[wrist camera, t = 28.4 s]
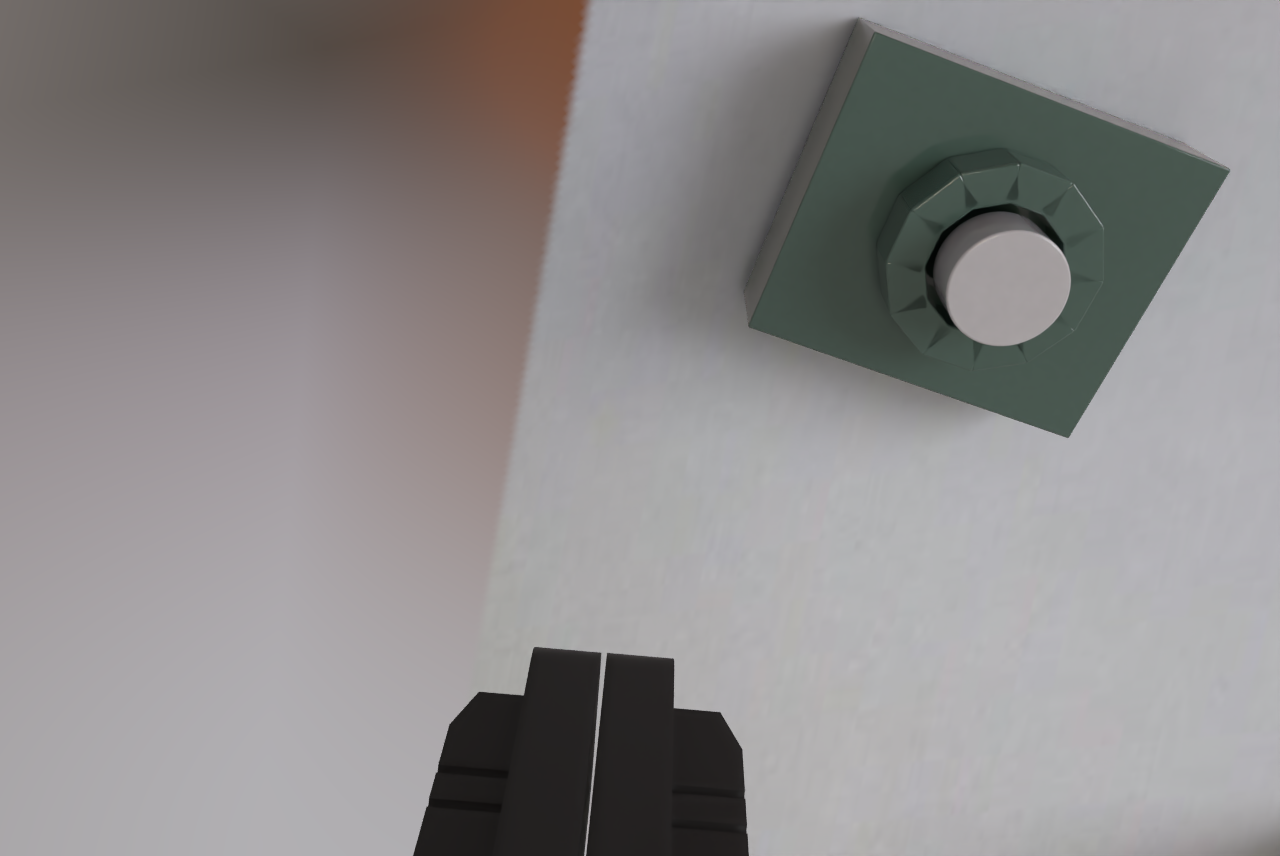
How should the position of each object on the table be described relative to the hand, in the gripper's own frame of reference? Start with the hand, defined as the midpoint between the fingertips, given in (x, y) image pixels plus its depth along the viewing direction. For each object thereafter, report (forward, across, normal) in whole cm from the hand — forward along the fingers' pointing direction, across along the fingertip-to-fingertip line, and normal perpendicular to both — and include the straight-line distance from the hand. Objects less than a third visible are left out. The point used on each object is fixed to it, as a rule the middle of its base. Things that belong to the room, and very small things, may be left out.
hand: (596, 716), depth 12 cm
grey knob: (+24, -11, +2) cm, 26 cm away
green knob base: (+29, -11, +2) cm, 31 cm away
